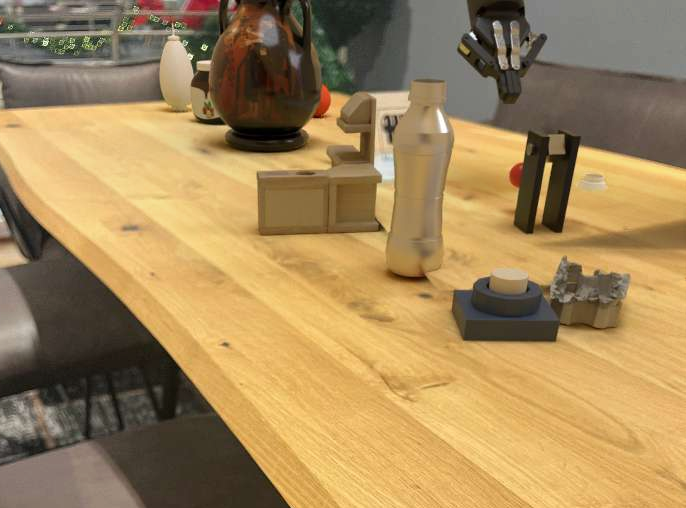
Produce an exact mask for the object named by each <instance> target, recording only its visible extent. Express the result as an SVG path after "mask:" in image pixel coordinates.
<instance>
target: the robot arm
mask: <svg viewBox="0 0 686 508" xmlns="http://www.w3.org/2000/svg"><path fill="white" fill-rule="evenodd" d="M466 7H467V11H468V18H469V24H470V25H469V26H470V30H469V32H465V33H463V34H462V36H461V38H460V41H459V43H458V46H457V48H456V51H457V53H458V54H459V55H460V56H461V57H462V58H463V59H464V60H465V61H466V62H467V63H468V64H469V65H470V66H471V67H472V68H473V69H474V70H475V71H476V72H477V73H478V74H479V75H480V76H481V77H482V78H484V79H487V78H489V77H490V78H493V80H494V81H495V83H496V89H497V95H498V98H499V100H500V101H502V104H503V105H515V104H516V102H517V101H518V99H519V98H520V97H521V94H522V93H523V87H522V80H521V78H524V77H525V76H526V74H527V72H528V71H529V70H530V68H531V66H532V65H533V63H534V62H535V60H536V59H537V57H538V56H539V54H540V53H541V51H542V49H543V48H544V45H545V44H546V42H547V40H548V36H547V34H546V33H544V32H543V33H540V34H539V35H537V34H535V32H533V31H531V25H530V23H529V22H528V21H527V18H526V4H525V0H466ZM525 42H526V46H525V48H526V53H527V54H526V55H525V56H524V58H523V60H521V59H520V53H521V49H522V47H523V45H524V43H525Z"/></svg>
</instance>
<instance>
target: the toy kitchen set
mask: <svg viewBox="0 0 686 508" xmlns="http://www.w3.org/2000/svg"><path fill="white" fill-rule="evenodd" d="M339 111H340V115H339V116H338V117H336V118H335V119H336V126H337V127H338V128H339V129H340V130H341V131H343V133H344V134H360V135H359V150H358V149H357V148H356V146H354V144H340V145H339V144H338V145H335V144H334V145H327V146H326V149H325V154H326V155H327V157H328V158H329V159H330V161H331V167H329V168H326V169H282V170H281V169H278V170H276V169H275V170H256V184H257V185H256V187H257V188H256V189H257V226H258V227H257V228H258V230H259V234H260V235H261V236H264V235H265V236H270V235H271V236H274V235H297V234H298V235H299V234H300V235H303V234H327V233H328V234H337V233H338V234H339V233H342V234H343V233H363V232H364V233H367V232H369V233H370V232H378V231H379V228H380V223H379V222H378V221H377V219H376V204H377V203H376V202H377V191H378V190H377V189H378V184H382V183H383V174H382V173H381V172H380V171H379V170H378V169H377V168H376V167H375V153H376V152H375V151H376V127H377V126H376V125H377V123H376V121H377V98H376V97H375V96H373V95H371V94H369V93H368V92H366V91H361V92H355V93H354V94H352V95H351V97H349V99H348V100H347V101H346V102H345V103H344V105H343V106H342V107H341V108H340V110H339Z"/></svg>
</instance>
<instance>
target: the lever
mask: <svg viewBox="0 0 686 508" xmlns="http://www.w3.org/2000/svg"><path fill="white" fill-rule="evenodd" d="M546 135H547V136H549V137H550V140H549V146H548V151H547V157H546V163H545V164H550V163H551V164H552V163H555V162H556V161H558V160H559V159H560V158H561V157H562V156H564V155H565V137H564V134H558V133H557V134H546ZM522 168H523V162H518V163H516V164H514V165H513V166H512V167H511V168H510V170H509V173H508V179H509V182H510V184H511V185H512V186H513V187H515V188H518V189H519V186H520V180H521V174H522Z"/></svg>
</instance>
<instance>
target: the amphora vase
mask: <svg viewBox="0 0 686 508" xmlns="http://www.w3.org/2000/svg"><path fill="white" fill-rule="evenodd" d="M295 1H296V0H234V2H235V3H236V4H235V5H236V12H235V14H234V16H233V18H231V21H230V22H228V20H229V19H228V9H229V8H228V7H229V2H230V0H219V1H218V12H217V13H218V32H219V38H218V40H217V42H216V43H215V46H214V49H213V51H212V54H211V63H210V70H209V81H208V82H209V92H210V98H211V100H212V103H213V106H214V108H215V110H216V112H217V113H218V115H219V116H220V118H221V119H222V120H223V121H224V122H225V124H224V125H226V126H227V127H228V128H230V129H228V130H227V131H226V132H225V134H224V140H225V142H226V143H227V144H228V145H229V146H230V147H233V148H235V149H239V150H242V151H251V152H282V151H283V152H284V151H291V150H296V149H300V148H301V147H303V146H305V145H306V144H307V143H308V141H309V138H310V135H309V133H308V132H307V131H306V130H305V129H304V127H306V126H307V125H308V124H309V123H310V121H312V119H313V115H314V114H315V112H316V110H317V108H318V106H319V103H320V100H321V97H322V84H323V76H322V69H321V63H320V60H319V56H318V53H317V51H316V48H315V46H314V44H313V42H312V40H313V39H312V32H313V13H312V5H311V2H310V0H297V1H298V2H299V3H300V6H301V11H302V18H303V20H302V21H303V22H302V26H301V25H300V23H299V22H298V21H297V19H296V17H295V16H294V15H293V13H292V9H293V4H294V2H295Z"/></svg>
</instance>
